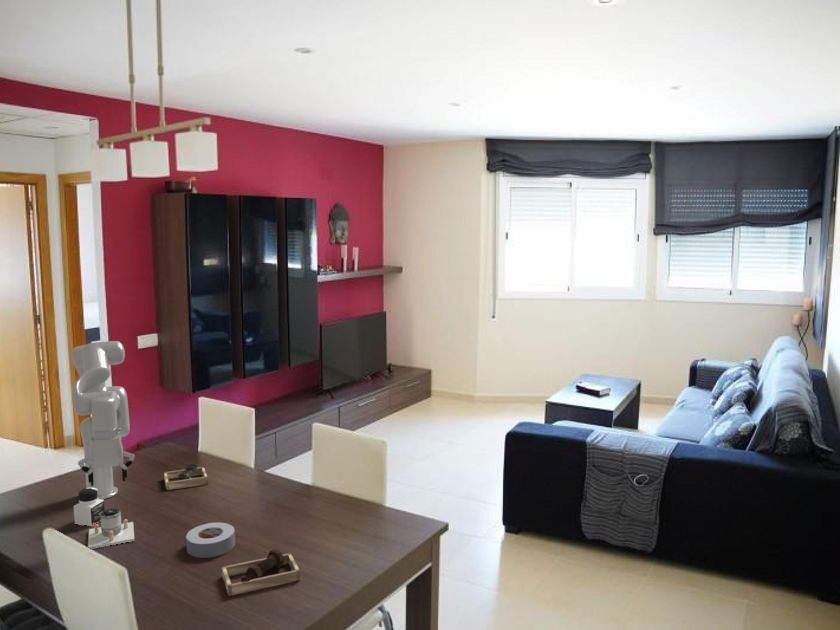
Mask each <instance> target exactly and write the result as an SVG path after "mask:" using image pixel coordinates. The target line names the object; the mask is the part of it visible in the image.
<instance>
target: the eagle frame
mask: <svg viewBox="0 0 840 630" xmlns="http://www.w3.org/2000/svg"><path fill="white" fill-rule="evenodd" d="M184 470H185V468H184V469H180V470H179V469H178V470H177V469H176V470H171V471H164V472H163V478H164V484H165V489H166V490H165V491H172V490H178V489H186V488H191V487H199V486H204V485H205V486H206V485H208V484H209V477H208V474H207V472H206V470H205V466H197V469H196V471H194V472H193V473H191V474H190V475H191V476H192V479H186V480H181V479H182V477H180V478H179V479H178V480H174V479H177V478H176V475H177V474H178V473H180V472H181V473H182V474H183V473H184ZM190 475H189V476H190ZM200 475H201V476H202V477H200ZM193 476H194V477H193ZM195 476H199V477H195ZM169 480H173V481H169Z"/></svg>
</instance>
